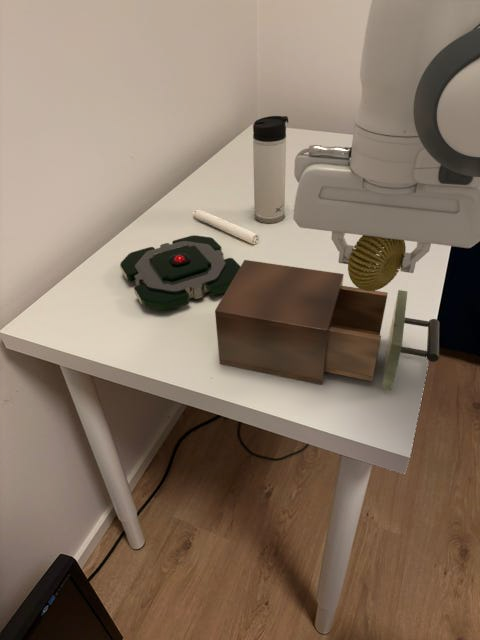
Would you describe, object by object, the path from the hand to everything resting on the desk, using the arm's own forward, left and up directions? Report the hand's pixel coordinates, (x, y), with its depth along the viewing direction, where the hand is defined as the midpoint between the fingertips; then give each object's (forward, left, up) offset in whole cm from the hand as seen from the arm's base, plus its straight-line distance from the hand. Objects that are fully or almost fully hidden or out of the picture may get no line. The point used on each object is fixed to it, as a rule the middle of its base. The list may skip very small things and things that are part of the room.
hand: (376, 265), depth 58 cm
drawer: (0, 0, -15) cm, 15 cm away
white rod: (+31, -30, -16) cm, 46 cm away
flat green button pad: (+32, -12, -16) cm, 38 cm away
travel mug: (+23, -38, -16) cm, 47 cm away
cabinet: (+11, 0, -16) cm, 19 cm away
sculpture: (0, 0, -3) cm, 3 cm away
